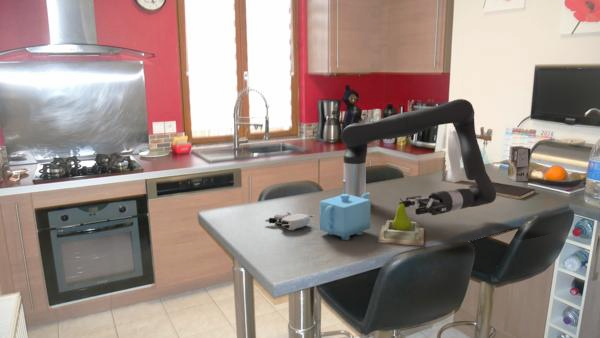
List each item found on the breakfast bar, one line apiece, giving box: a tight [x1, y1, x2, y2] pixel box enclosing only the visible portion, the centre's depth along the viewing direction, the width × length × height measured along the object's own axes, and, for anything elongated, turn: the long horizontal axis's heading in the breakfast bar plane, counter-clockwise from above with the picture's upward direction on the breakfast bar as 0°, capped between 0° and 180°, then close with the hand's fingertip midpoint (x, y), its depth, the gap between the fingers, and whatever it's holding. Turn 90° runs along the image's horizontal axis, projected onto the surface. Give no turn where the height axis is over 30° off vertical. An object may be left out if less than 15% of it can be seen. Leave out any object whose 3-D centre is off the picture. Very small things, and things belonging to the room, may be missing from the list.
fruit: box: [392, 197, 412, 231], centre depth 149 cm, size 6×6×12 cm
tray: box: [378, 219, 425, 246], centre depth 150 cm, size 14×14×4 cm
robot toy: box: [264, 212, 315, 231], centre depth 162 cm, size 12×4×15 cm
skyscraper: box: [441, 125, 462, 184], centre depth 222 cm, size 8×8×28 cm
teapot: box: [319, 191, 371, 241], centre depth 153 cm, size 22×11×14 cm, turn 132°
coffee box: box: [507, 145, 532, 182], centre depth 223 cm, size 9×6×16 cm
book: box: [468, 181, 536, 200], centre depth 203 cm, size 16×23×2 cm
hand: (407, 208), depth 149 cm, fingers open, 8 cm apart
